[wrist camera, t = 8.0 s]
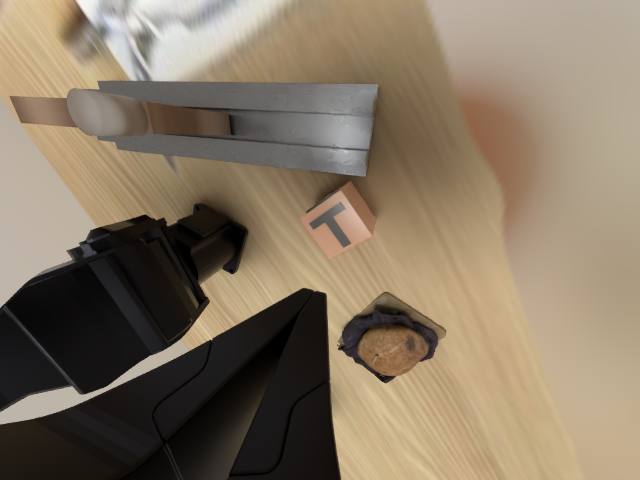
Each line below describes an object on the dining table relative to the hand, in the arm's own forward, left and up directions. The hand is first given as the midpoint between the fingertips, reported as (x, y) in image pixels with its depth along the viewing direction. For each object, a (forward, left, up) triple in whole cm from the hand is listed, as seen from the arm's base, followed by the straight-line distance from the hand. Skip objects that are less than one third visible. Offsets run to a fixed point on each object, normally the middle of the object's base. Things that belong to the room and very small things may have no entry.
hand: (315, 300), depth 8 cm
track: (+1, +14, -13) cm, 19 cm away
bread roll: (-12, -9, -14) cm, 21 cm away
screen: (-1, +19, -12) cm, 22 cm away
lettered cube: (-1, +1, -13) cm, 14 cm away
